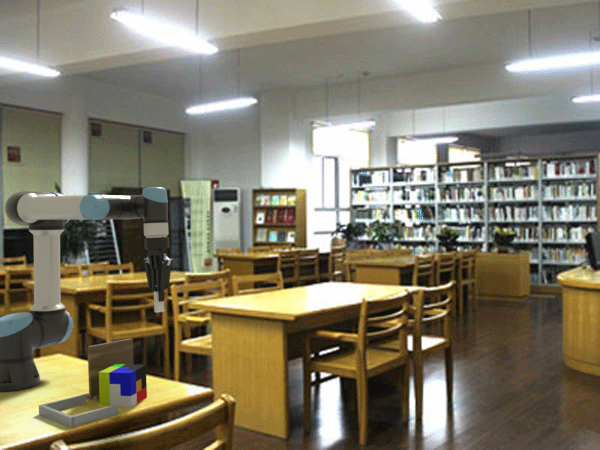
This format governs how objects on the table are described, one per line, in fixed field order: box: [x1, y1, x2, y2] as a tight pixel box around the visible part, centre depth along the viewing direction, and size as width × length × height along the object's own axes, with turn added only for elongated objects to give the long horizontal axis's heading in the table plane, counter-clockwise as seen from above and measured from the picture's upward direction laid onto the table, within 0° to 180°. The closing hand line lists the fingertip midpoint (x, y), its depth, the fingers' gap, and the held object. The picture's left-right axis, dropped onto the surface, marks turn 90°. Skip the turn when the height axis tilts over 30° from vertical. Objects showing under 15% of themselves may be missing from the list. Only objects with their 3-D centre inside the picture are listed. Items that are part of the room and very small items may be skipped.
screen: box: [85, 337, 135, 402], centre depth 192 cm, size 6×15×16 cm, turn 138°
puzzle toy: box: [99, 364, 148, 408], centre depth 184 cm, size 10×10×10 cm
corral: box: [38, 393, 119, 428], centre depth 173 cm, size 18×14×2 cm
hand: (159, 311), depth 194 cm, fingers closed
